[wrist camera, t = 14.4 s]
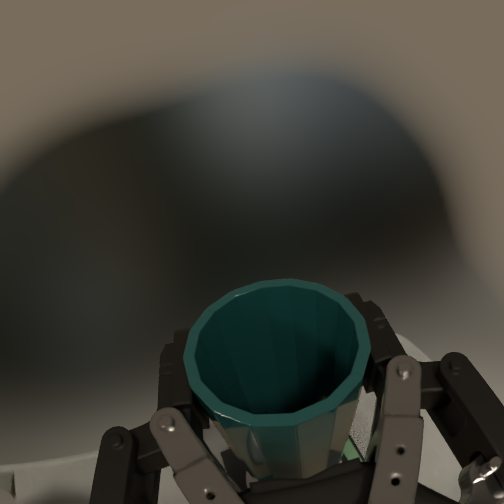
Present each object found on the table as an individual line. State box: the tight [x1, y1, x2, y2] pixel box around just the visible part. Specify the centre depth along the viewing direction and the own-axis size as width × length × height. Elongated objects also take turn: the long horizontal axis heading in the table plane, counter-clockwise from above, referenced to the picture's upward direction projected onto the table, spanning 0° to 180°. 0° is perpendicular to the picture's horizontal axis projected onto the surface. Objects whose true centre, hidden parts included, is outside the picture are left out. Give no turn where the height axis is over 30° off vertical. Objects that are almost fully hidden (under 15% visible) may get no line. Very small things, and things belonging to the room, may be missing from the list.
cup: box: [183, 279, 371, 482], centre depth 14 cm, size 6×6×13 cm
